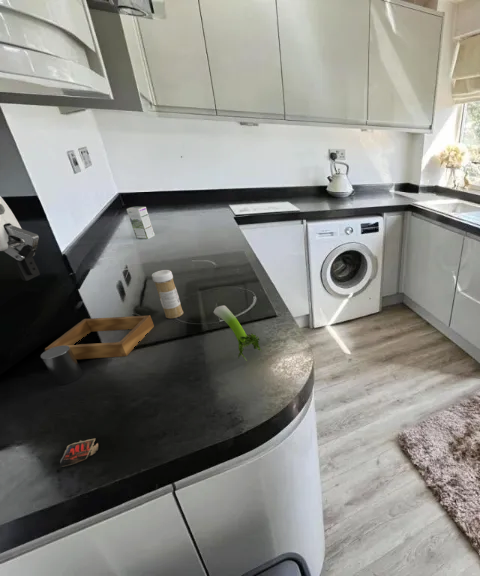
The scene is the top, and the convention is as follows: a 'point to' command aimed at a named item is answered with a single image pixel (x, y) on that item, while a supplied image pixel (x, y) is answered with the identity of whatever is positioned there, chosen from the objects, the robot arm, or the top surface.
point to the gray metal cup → (62, 364)
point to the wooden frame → (103, 350)
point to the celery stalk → (237, 329)
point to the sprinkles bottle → (167, 293)
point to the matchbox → (78, 452)
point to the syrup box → (140, 222)
